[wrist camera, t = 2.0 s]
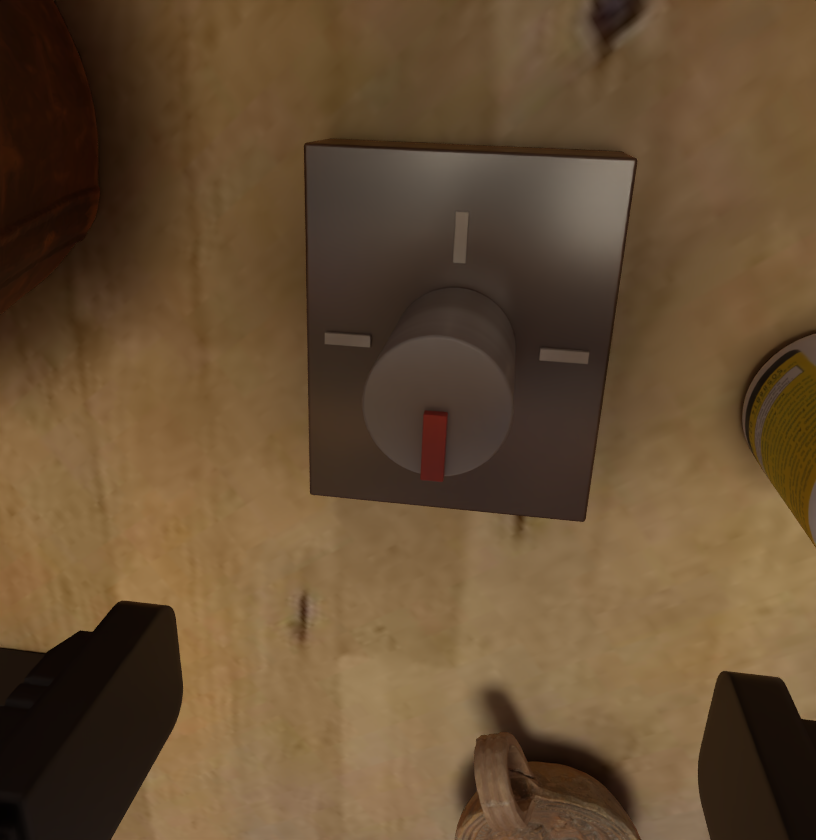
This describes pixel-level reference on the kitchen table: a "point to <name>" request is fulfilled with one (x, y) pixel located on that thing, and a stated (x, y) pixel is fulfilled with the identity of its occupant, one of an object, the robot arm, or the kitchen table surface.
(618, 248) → the dial panel
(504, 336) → the dial knob
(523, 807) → the oil lamp
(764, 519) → the kitchen table surface
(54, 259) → the case
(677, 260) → the kitchen table surface
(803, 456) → the supplement bottle
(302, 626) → the kitchen table surface
